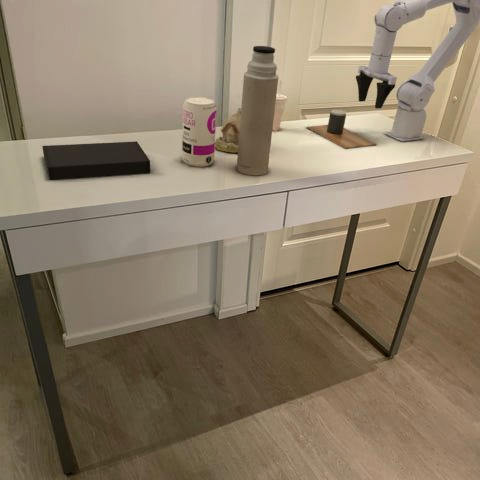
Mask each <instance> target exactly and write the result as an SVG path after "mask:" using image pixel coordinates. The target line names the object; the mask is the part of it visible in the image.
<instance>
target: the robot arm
mask: <svg viewBox="0 0 480 480" xmlns="http://www.w3.org/2000/svg"><path fill="white" fill-rule="evenodd" d="M447 4H452V8H453V11H454V15H455V24H454V25H453V26H452V28H451V29H450V30H449V32H448V33H446V35H445V37H444V38H443V40H442V41H441V42H440V43H439V45H438V46H437V47H436V49H435V50H434V52H433V53H432V54H431V55H430V56H429V58H428V59H427V61H426V62H425V64H424V65H423V66H422V67H421V68H420V70H419V71H418V72H416V73H414V74H412V75H410V76H409V77H408V78H407V79H406V80H405V81H404V82H402V83H401V84H400V85H399V86H398V88H397V90H396V92H395V95H396V97H395V98H396V100H397V108H396V112H395V115H394V119H393V123H392V128H391V131H385V132H384V135H386V136H388V137H391V138H393V139H395V140H397V141H400V142H407V141H416V140H417V141H418V140H423V136H422V134H423V130H424V128H425V124H426V120H427V112H426V109H425V108H426V107H427V106H428V104H429V102H430V100H431V97H432V95H433V94H434V93H435V82H436V80H437V79H439V78H438V77H440V75H441V74H442V73H443V71H445V69H446V67H448V65H449V64H450V63H451V61H452V60H453V58H454V57H455V56H456V54H457V53H458V52H459V50H461V48H462V47H463V46H464V44H465V43H466V42H467V40H468V39H469V37H470V36H471V35H472V34H473V32H474V31H475V30H476V29H477V27H478V25H479V23H480V0H395V1H394V4H393V5H391V4H383V5H382V6H381V7H380V8H379V9H378V11H377V13H376V14H375V15H374V16H373V17H374V18H373V19H374V20H373V21H374V25H375V34H374V38H373V42H372V47H371V52H370V58H369V62H368V66H366V65H358V68H357V75H355V80H356V84H357V94H358V95H357V96H358V102H366V100H367V97H368V93H369V90H370V87H371V84H372V82H373V81H374V80H378V81H379V82H376V98H375V103H374V104H375V105H374V109H383V106H384V104H385V102H386V100H387V98H388V97H389V95H390V94H391V92H392V91H393V90H394V89H395V88H396V84H397V79H398V77H397V76H395V75H393V74H391V73H390V72H388V71H389V67H390V63H391V58H392V54H393V50H394V46H395V41H396V37H397V33H398V31H399V30H400V29H401V28H402V27H403V25H406V24H408V23H411V22H414V21H416V20H419V19H421V18H423V17H424V16H425V15H426V13H427V11H429V10H432V9H435V8H438V7H442V6H445V5H447ZM358 74H359V75H358ZM380 81H381V82H380Z"/></svg>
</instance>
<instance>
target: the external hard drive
mask: <svg viewBox="0 0 480 480" xmlns="http://www.w3.org/2000/svg"><path fill="white" fill-rule="evenodd" d="M41 148H42V153H43V159H44V163H45V167H46V171H47V174H48V179H49V180H63V179H78V178H79V179H80V178H91V177H93V178H94V177H109V176H121V175H122V176H123V175H135V174H138V175H139V174H150V173H151V160H150V159H149V157H148V156H147V154H146V152H145V151H144V150H143V148H142V146H141V145H140V144H139V142H138V141H136V140H135V141H134V140H133V141H117V142H113V141H112V142H96V143H94V142H93V143H92V142H91V143H74V144H73V143H72V144H54V145H53V144H52V145H42V147H41Z"/></svg>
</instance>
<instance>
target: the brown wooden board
mask: <svg viewBox="0 0 480 480" xmlns="http://www.w3.org/2000/svg"><path fill="white" fill-rule="evenodd" d="M327 128H328V124H321V125H312V126H306V129H308V130H309V131H311V132H313V133H315V134H316V135H318V136H321V137H323V138H324V139H327V140H328V141H330V142H332V143H334V144H336V145H338V146H339V147H341V148H343V149H345V150H347V149H355V148H363V147H364V148H365V147H372V146H377V143H375V142H374V141H372V140H369V139H367V138H365V137H363V136H361V135H359V134H357V133H356V132H353V131H351V130H349V129H347V128H345V127H344V129H343V133H342V134H340V135H336V134H331V133H328V132H327Z"/></svg>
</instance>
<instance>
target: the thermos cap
mask: <svg viewBox="0 0 480 480" xmlns="http://www.w3.org/2000/svg"><path fill="white" fill-rule="evenodd" d="M328 117H329V118H328V121H327V122H328V123H327V125H328V128H327V132H328V133H331V134H336V135H340V134H342V133H343V129H344V128H345V123H346V118H347V112H346V111H345V110H343V109H331V110H330V112H329V116H328Z"/></svg>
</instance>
